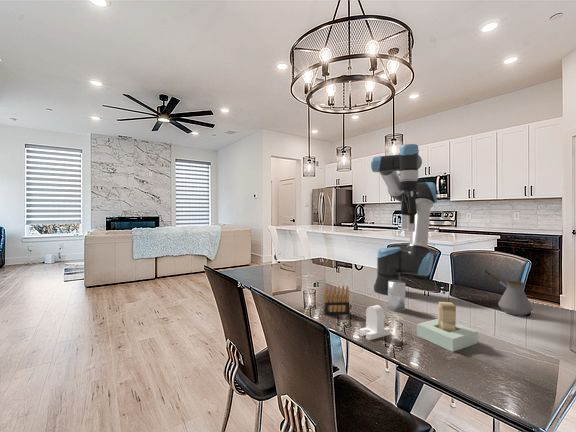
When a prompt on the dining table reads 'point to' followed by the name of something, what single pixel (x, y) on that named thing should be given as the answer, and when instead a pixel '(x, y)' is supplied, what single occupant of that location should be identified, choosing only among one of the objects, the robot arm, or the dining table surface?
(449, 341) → the socket block
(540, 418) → the dining table surface
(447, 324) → the oak square bit
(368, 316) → the cable organizer
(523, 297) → the coffee pot
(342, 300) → the ammunition clip
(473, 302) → the dining table surface
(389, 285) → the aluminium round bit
